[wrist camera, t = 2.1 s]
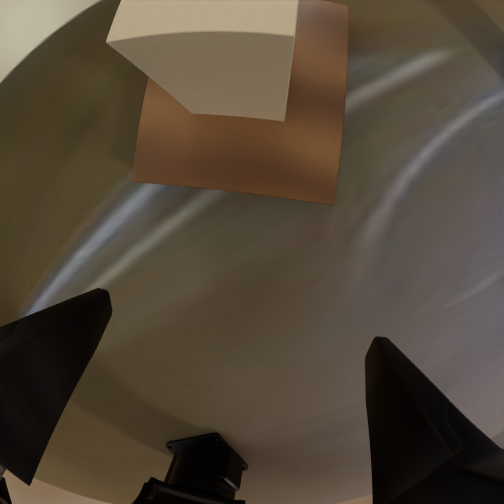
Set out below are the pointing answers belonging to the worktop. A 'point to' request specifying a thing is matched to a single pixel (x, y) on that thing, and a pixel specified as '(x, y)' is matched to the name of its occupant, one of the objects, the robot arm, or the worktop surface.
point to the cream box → (212, 52)
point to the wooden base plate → (259, 126)
